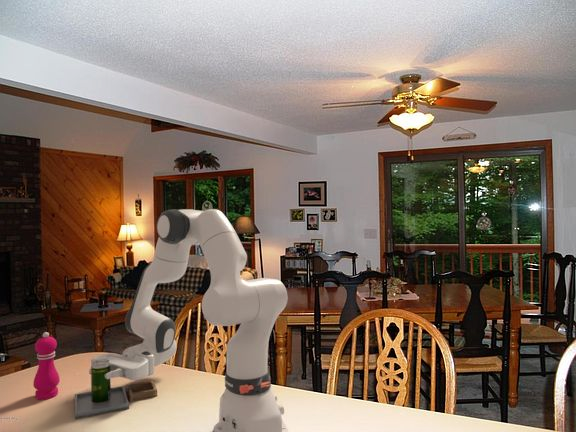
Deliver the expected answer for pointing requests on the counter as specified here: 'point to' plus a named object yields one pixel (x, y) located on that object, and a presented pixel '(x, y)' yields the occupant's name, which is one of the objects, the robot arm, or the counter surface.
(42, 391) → the pepper mill
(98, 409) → the tray
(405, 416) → the counter surface
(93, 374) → the beer can
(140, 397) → the can holder
